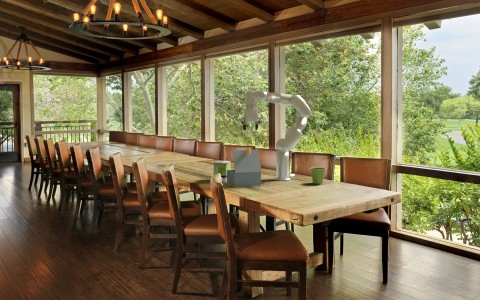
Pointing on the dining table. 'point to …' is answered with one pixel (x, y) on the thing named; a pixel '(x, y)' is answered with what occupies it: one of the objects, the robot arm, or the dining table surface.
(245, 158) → the lid flap
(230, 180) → the slate box
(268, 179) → the dining table surface
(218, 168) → the tea box
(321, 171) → the plant pot
